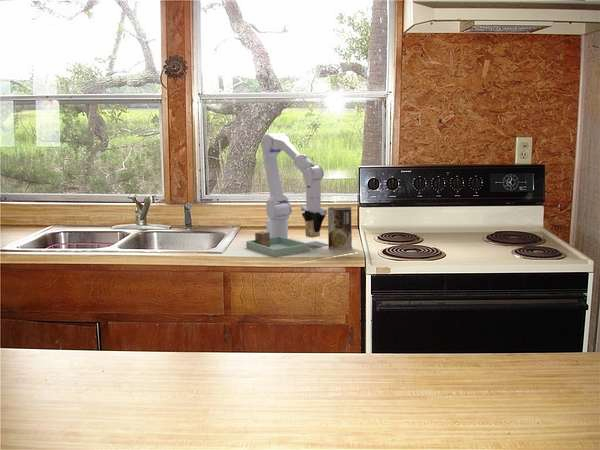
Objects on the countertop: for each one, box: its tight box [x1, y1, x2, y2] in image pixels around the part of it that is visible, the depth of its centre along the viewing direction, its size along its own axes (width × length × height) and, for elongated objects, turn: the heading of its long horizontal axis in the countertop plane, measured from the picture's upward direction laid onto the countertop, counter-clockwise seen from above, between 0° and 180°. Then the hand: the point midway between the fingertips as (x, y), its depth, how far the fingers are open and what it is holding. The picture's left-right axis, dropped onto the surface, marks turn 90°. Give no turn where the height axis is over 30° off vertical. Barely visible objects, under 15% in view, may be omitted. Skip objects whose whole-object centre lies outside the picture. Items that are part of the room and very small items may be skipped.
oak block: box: [304, 220, 321, 239], centre depth 255 cm, size 4×4×6 cm
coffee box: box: [327, 206, 353, 250], centre depth 250 cm, size 9×6×16 cm
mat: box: [306, 240, 328, 249], centre depth 257 cm, size 10×10×1 cm
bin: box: [245, 236, 311, 258], centre depth 249 cm, size 20×16×3 cm
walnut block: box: [254, 230, 270, 247], centre depth 252 cm, size 4×4×6 cm
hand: (313, 231), depth 256 cm, fingers closed on oak block, 4 cm apart
